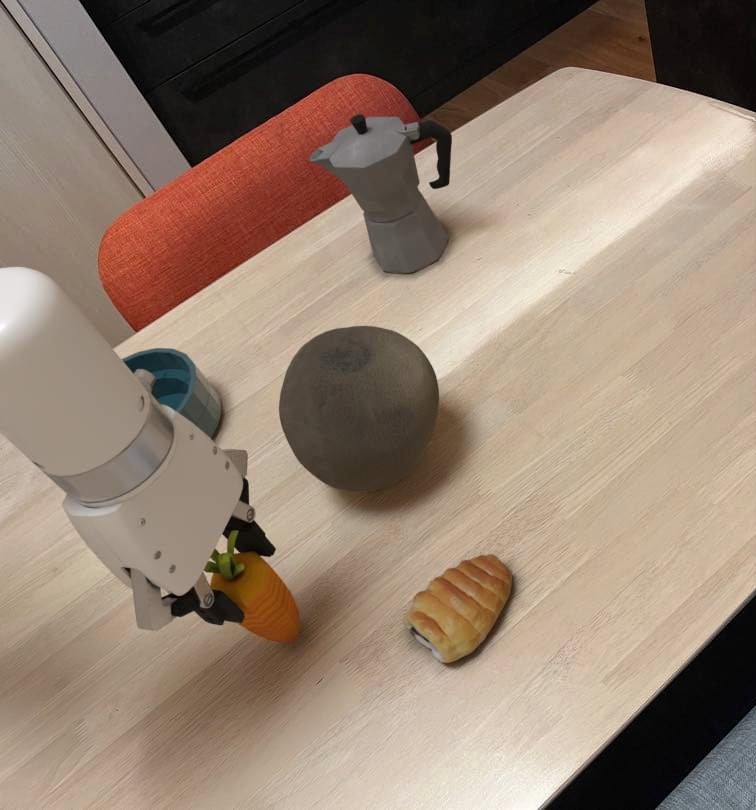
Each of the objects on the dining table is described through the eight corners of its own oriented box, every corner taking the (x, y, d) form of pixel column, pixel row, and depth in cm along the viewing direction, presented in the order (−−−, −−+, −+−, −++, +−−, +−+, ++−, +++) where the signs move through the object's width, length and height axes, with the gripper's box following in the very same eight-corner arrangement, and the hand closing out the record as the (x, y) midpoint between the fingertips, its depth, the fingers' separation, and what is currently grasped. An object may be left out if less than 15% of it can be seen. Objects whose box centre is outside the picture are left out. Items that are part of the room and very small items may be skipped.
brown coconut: (429, 530, 81) (370, 429, 70) (296, 509, 86) (221, 410, 75) (480, 408, 89) (435, 299, 78) (355, 394, 94) (296, 290, 83)
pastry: (477, 549, 79) (466, 526, 76) (534, 590, 75) (524, 567, 73) (401, 631, 76) (386, 610, 73) (457, 678, 72) (443, 658, 69)
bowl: (82, 478, 95) (47, 444, 90) (144, 381, 103) (114, 345, 98) (187, 488, 91) (156, 453, 86) (243, 387, 99) (217, 350, 94)
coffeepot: (356, 286, 105) (291, 157, 92) (360, 235, 111) (300, 106, 98) (485, 258, 103) (438, 122, 90) (482, 207, 110) (438, 73, 96)
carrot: (262, 627, 79) (173, 537, 68) (315, 601, 79) (235, 508, 68) (273, 676, 76) (181, 590, 64) (328, 648, 76) (247, 559, 65)
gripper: (128, 340, 63) (248, 487, 76) (-18, 558, 53) (150, 682, 66) (220, 344, 60) (327, 495, 74) (85, 572, 50) (237, 698, 64)
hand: (242, 582), depth 70 cm, fingers closed on carrot, 5 cm apart
